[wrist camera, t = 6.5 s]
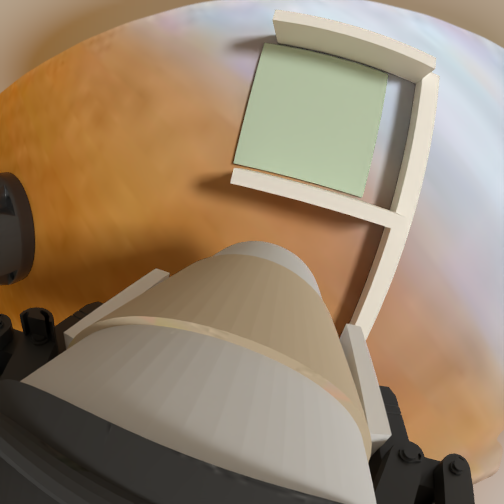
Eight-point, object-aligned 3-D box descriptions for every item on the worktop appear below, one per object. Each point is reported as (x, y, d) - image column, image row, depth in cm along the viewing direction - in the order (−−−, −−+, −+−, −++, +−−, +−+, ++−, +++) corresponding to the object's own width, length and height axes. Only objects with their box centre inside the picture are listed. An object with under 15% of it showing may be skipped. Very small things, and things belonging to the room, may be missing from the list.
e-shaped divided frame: (213, 317, 25) (198, 341, 21) (280, 33, 17) (275, 9, 14) (351, 354, 23) (358, 381, 20) (432, 81, 16) (453, 67, 12)
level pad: (234, 163, 21) (233, 163, 21) (264, 43, 18) (264, 42, 18) (361, 197, 20) (362, 197, 20) (387, 75, 17) (388, 74, 17)
